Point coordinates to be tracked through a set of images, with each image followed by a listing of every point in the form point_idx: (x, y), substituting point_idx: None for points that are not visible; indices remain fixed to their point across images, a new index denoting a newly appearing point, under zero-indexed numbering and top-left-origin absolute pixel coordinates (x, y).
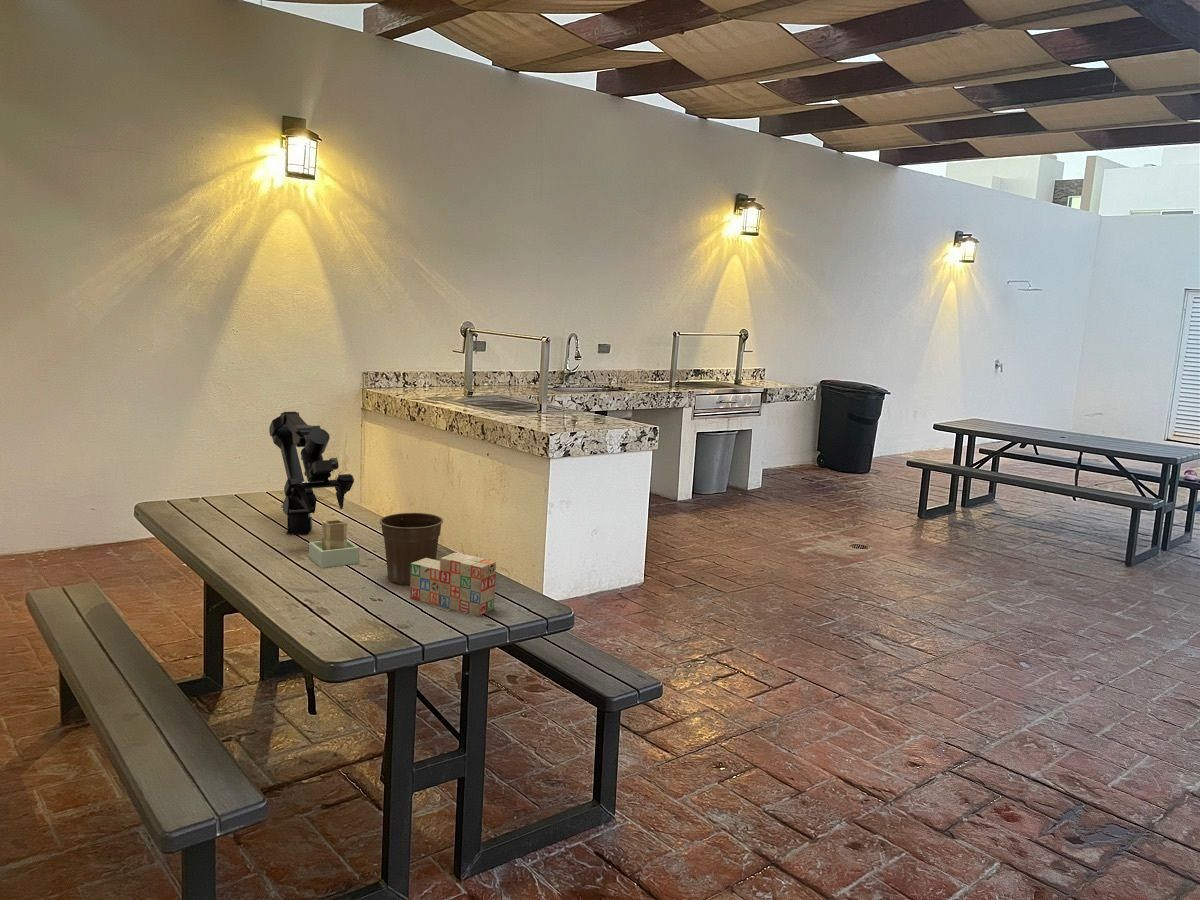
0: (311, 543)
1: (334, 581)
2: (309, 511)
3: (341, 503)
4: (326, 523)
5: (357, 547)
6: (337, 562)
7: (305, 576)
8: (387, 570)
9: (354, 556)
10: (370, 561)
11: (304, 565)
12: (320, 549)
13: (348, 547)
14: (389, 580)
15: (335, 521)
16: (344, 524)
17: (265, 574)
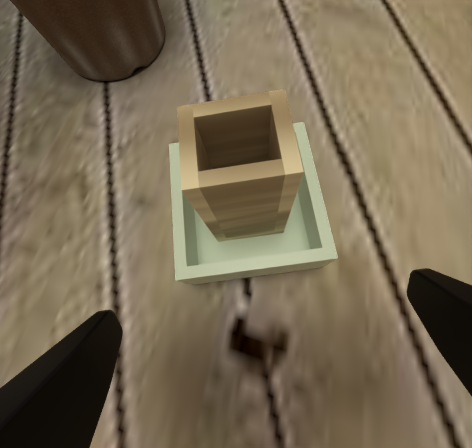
0: (329, 236)
1: (279, 53)
2: (414, 281)
3: (82, 336)
4: (285, 116)
5: (175, 146)
6: None
7: (344, 97)
8: (157, 19)
9: None
10: (151, 182)
11: (341, 189)
12: (303, 148)
13: (189, 226)
14: (164, 33)
15: (222, 169)
16: (191, 110)
17: (457, 132)
